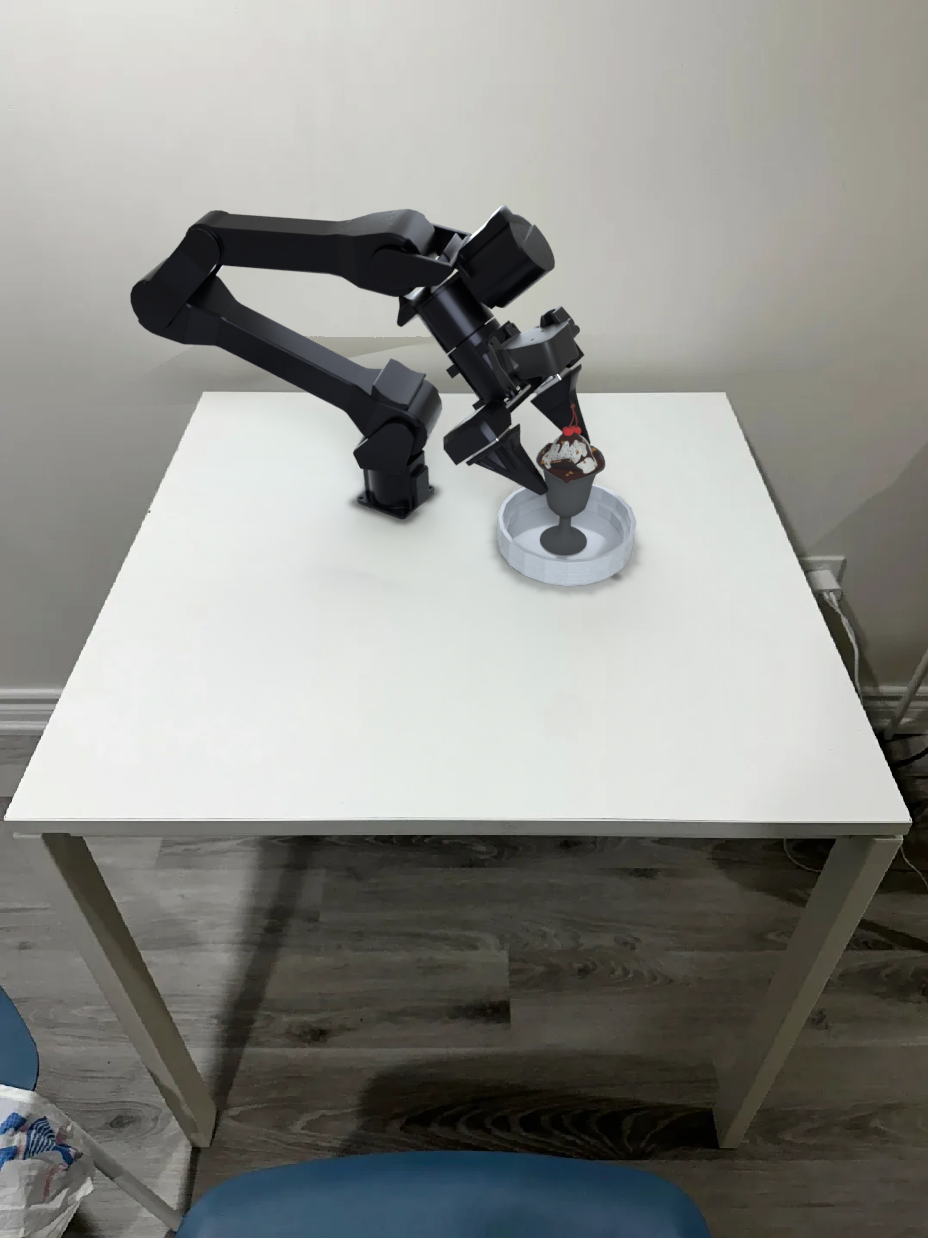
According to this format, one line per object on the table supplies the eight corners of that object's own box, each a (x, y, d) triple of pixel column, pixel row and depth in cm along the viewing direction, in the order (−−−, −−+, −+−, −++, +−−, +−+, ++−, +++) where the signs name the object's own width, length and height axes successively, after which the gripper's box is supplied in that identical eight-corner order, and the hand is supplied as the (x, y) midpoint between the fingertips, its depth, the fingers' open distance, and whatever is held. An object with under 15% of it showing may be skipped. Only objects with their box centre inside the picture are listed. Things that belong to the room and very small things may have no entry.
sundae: (568, 513, 96) (580, 389, 86) (607, 546, 92) (625, 420, 82) (518, 534, 94) (524, 409, 83) (557, 569, 90) (568, 442, 79)
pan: (473, 560, 92) (473, 533, 89) (535, 491, 100) (537, 465, 98) (597, 607, 86) (600, 580, 84) (651, 530, 95) (656, 503, 93)
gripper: (472, 333, 72) (583, 487, 75) (574, 254, 83) (666, 390, 87) (396, 394, 80) (499, 530, 84) (498, 315, 91) (585, 437, 95)
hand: (566, 469), depth 87 cm, fingers open, 9 cm apart
